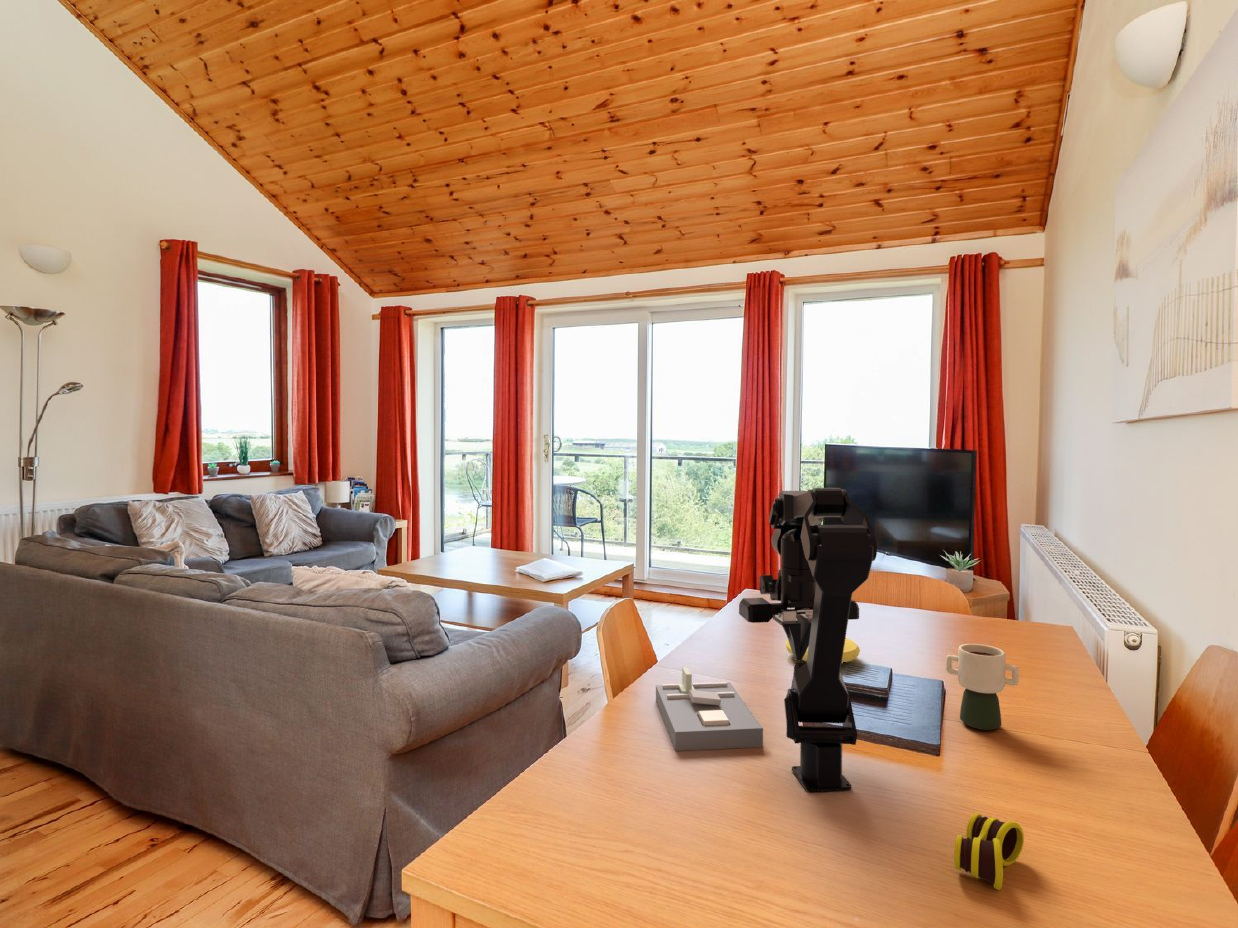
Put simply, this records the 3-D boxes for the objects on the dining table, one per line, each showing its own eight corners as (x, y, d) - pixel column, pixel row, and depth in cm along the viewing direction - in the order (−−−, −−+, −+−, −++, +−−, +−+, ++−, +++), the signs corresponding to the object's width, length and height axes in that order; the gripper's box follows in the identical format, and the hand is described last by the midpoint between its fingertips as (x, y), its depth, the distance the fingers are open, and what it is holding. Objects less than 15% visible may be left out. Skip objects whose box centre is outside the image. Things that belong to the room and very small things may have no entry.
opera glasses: (974, 840, 82) (975, 800, 82) (1024, 859, 79) (1025, 817, 79) (948, 878, 75) (949, 834, 75) (1001, 901, 72) (1002, 855, 72)
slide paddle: (695, 694, 120) (695, 674, 120) (682, 694, 120) (682, 674, 120) (691, 686, 124) (691, 667, 124) (678, 687, 124) (678, 667, 124)
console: (762, 746, 107) (763, 724, 107) (675, 750, 106) (675, 728, 106) (729, 698, 127) (730, 679, 127) (655, 701, 126) (655, 681, 126)
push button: (728, 735, 109) (728, 719, 109) (703, 736, 108) (704, 720, 108) (722, 725, 113) (722, 709, 112) (698, 726, 112) (698, 710, 112)
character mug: (1019, 726, 115) (1021, 650, 114) (1014, 741, 109) (1016, 661, 108) (948, 711, 121) (950, 638, 120) (940, 724, 115) (942, 649, 115)
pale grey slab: (720, 705, 115) (721, 699, 115) (692, 702, 115) (693, 696, 115) (715, 698, 119) (716, 692, 119) (688, 695, 118) (689, 689, 118)
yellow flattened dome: (876, 666, 145) (876, 633, 145) (815, 675, 139) (815, 641, 139) (827, 645, 160) (828, 615, 159) (770, 653, 154) (771, 622, 154)
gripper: (831, 557, 121) (831, 643, 122) (729, 559, 119) (729, 647, 120) (861, 568, 110) (860, 663, 111) (749, 571, 108) (749, 668, 108)
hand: (798, 660), depth 113 cm, fingers closed
